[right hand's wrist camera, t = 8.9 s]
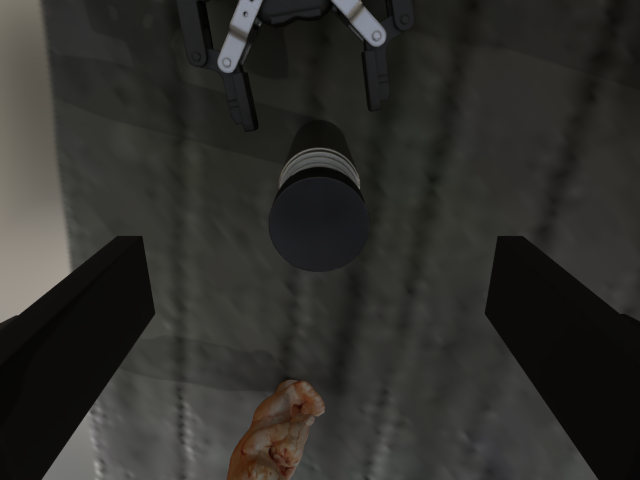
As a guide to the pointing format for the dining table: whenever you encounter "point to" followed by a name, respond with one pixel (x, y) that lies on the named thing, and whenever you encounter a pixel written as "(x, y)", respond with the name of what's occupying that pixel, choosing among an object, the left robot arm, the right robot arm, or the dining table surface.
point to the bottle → (319, 151)
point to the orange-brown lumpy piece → (277, 434)
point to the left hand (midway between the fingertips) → (313, 120)
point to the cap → (319, 220)
